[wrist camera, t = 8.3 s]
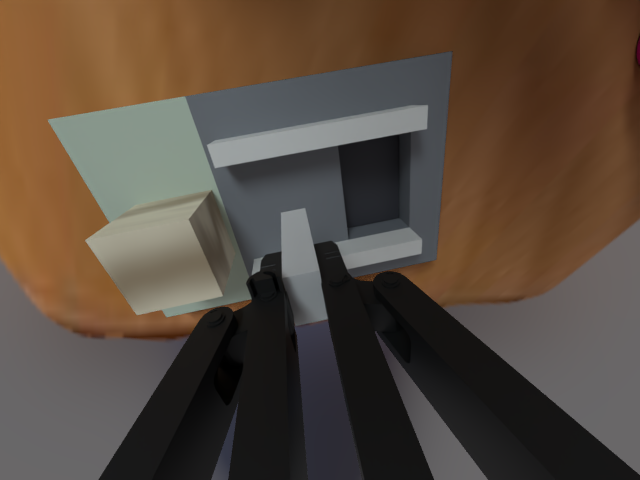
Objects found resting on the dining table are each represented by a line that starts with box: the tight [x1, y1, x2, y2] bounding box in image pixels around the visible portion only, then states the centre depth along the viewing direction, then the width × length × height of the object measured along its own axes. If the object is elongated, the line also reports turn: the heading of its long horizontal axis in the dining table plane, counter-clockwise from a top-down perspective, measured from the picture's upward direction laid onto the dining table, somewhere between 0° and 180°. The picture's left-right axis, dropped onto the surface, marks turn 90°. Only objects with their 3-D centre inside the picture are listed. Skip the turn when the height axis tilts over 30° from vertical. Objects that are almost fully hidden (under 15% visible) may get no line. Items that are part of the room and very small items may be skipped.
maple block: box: [85, 190, 235, 315], centre depth 19 cm, size 6×6×6 cm
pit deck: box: [48, 51, 452, 317], centre depth 22 cm, size 18×28×5 cm, turn 99°
